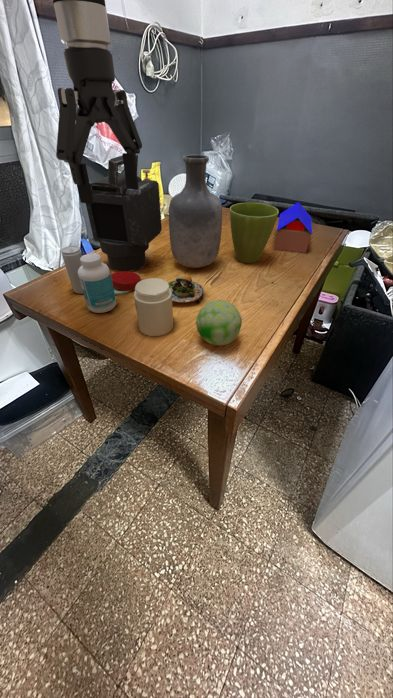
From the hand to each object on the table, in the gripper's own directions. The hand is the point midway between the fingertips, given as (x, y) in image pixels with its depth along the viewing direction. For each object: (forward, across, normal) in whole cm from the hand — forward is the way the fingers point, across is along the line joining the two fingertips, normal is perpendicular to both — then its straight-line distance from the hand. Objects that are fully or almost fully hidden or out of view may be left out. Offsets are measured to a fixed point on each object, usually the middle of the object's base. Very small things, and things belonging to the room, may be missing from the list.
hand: (111, 195), depth 60 cm
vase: (+26, -30, +3) cm, 40 cm away
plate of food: (+26, -10, +10) cm, 30 cm away
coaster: (+26, -5, -8) cm, 28 cm away
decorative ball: (+26, +2, +28) cm, 38 cm away
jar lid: (+24, -7, -7) cm, 26 cm away
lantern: (+26, -19, -15) cm, 36 cm away
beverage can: (+26, +2, -16) cm, 31 cm away
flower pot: (+26, -43, +17) cm, 53 cm away
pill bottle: (+26, +5, -5) cm, 27 cm away
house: (+26, -66, +25) cm, 75 cm away
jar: (+26, +4, +12) cm, 29 cm away
